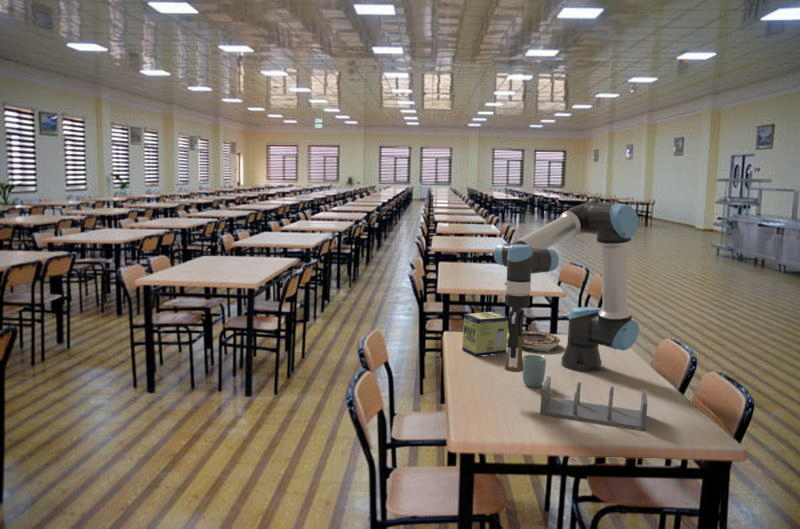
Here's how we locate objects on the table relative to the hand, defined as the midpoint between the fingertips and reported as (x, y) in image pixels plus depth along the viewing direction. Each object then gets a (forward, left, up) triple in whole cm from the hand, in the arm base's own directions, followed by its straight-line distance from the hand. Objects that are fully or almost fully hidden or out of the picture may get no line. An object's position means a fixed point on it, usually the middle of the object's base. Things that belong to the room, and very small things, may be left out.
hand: (514, 364), depth 208 cm
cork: (0, 0, -2) cm, 2 cm away
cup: (-17, -11, -13) cm, 23 cm away
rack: (-18, +18, -12) cm, 28 cm away
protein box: (-24, -53, -13) cm, 59 cm away
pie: (-50, -54, -13) cm, 75 cm away
